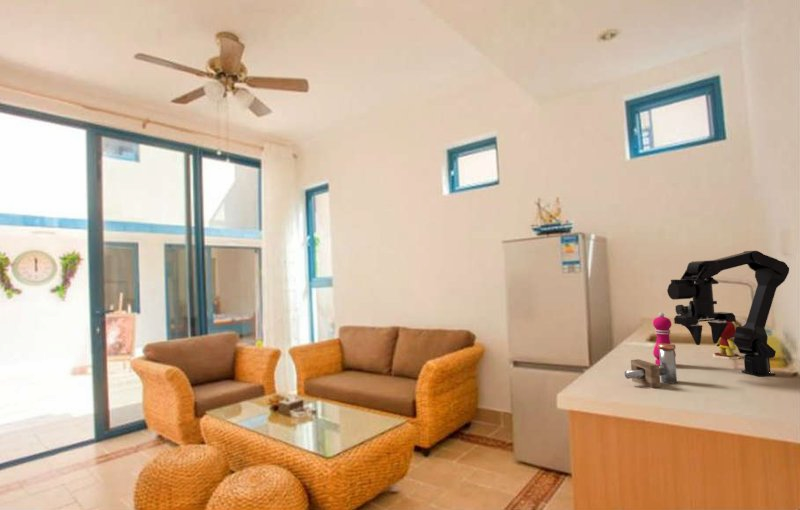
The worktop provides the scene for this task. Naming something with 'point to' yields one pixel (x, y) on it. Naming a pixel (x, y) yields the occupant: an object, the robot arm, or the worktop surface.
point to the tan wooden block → (647, 373)
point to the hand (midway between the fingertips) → (706, 344)
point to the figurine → (727, 343)
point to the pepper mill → (661, 334)
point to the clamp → (661, 365)
